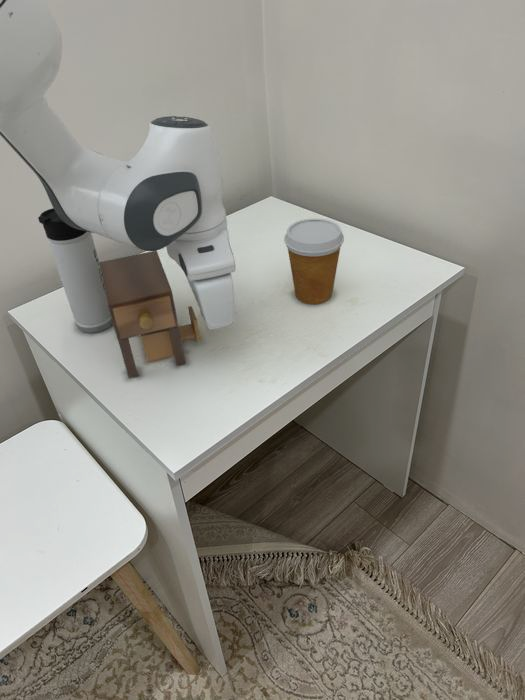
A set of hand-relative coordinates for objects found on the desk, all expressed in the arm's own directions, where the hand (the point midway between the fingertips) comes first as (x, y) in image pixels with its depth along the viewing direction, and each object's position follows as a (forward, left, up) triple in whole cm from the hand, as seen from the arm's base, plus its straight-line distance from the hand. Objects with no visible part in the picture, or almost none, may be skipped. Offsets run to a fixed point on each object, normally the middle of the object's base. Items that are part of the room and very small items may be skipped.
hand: (208, 318), depth 85 cm
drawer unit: (-10, 0, -3) cm, 10 cm away
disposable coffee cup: (+19, +4, -3) cm, 20 cm away
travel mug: (-17, +10, -3) cm, 20 cm away
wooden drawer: (-6, 0, -3) cm, 7 cm away
